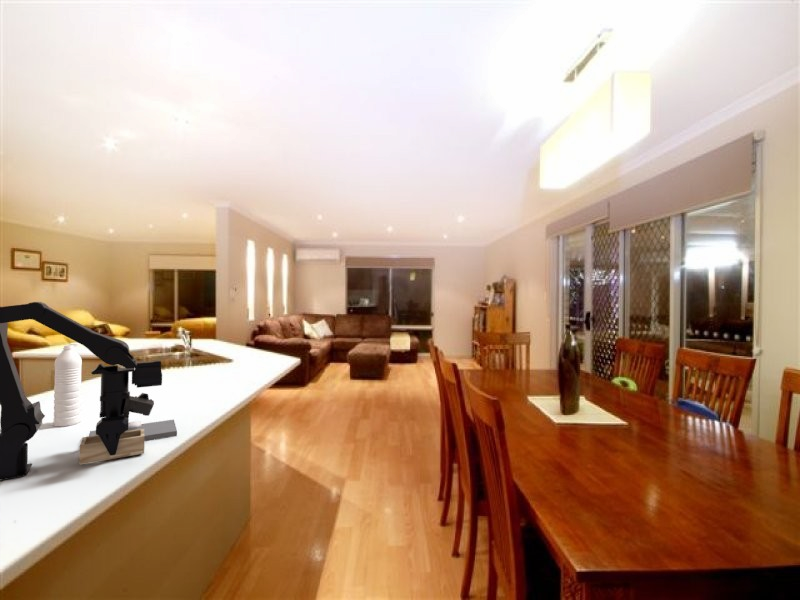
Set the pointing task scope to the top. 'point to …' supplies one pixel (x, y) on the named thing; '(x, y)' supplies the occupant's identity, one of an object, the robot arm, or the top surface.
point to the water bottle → (67, 387)
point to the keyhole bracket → (96, 450)
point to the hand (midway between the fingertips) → (113, 450)
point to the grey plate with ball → (152, 429)
